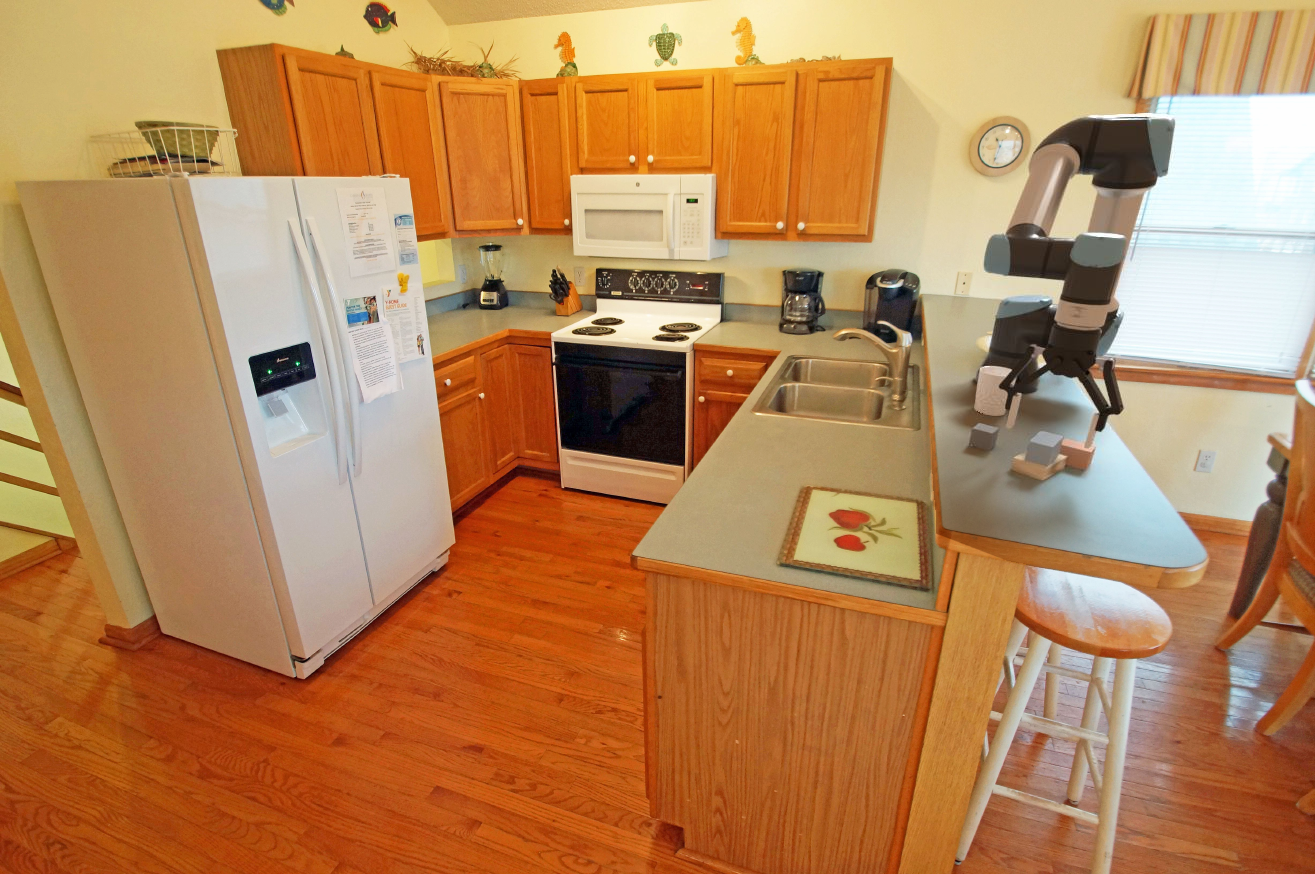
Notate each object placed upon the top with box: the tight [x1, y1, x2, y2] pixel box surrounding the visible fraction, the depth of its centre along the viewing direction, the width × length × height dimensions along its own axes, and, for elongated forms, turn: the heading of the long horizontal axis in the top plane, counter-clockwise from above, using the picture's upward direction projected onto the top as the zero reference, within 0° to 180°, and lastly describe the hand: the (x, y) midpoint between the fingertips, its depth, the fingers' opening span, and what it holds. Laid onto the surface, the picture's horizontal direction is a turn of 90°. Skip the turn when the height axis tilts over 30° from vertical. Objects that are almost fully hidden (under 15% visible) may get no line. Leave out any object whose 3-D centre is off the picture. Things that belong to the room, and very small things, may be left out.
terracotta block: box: [1059, 437, 1097, 471], centre depth 127 cm, size 7×4×4 cm, turn 46°
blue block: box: [1025, 430, 1065, 467], centre depth 123 cm, size 7×4×4 cm, turn 135°
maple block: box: [1010, 450, 1067, 482], centre depth 125 cm, size 9×6×3 cm, turn 127°
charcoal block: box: [968, 422, 1000, 452], centre depth 134 cm, size 4×4×4 cm
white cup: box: [973, 366, 1016, 417], centre depth 152 cm, size 8×8×10 cm
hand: (1047, 435), depth 122 cm, fingers open, 13 cm apart
